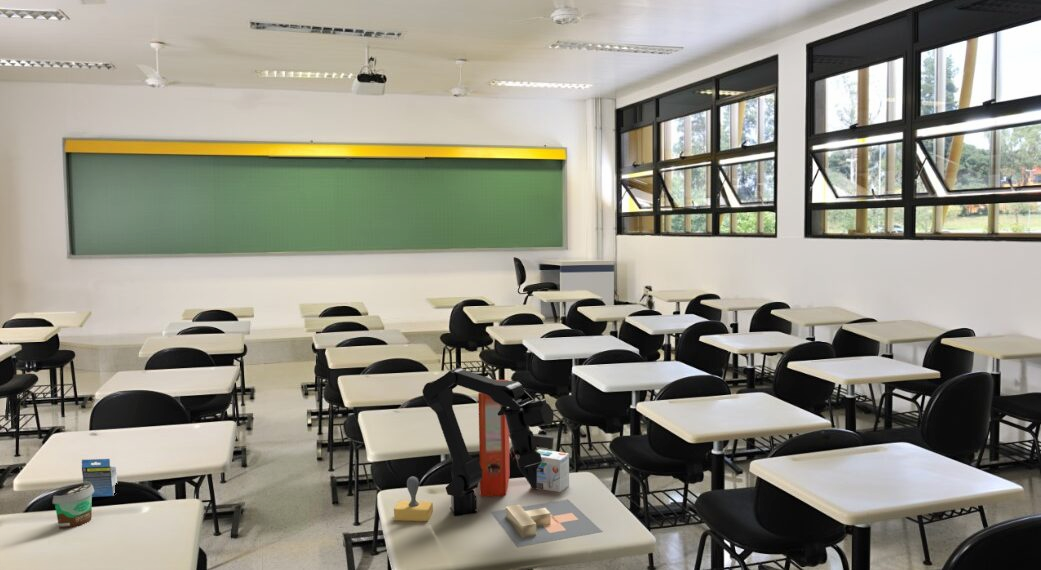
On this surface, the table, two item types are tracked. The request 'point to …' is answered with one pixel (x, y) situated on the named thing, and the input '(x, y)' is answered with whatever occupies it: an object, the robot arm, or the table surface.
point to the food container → (74, 506)
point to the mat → (562, 526)
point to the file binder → (493, 448)
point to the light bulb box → (553, 471)
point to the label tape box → (100, 476)
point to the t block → (527, 519)
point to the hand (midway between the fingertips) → (532, 485)
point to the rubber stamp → (413, 505)
